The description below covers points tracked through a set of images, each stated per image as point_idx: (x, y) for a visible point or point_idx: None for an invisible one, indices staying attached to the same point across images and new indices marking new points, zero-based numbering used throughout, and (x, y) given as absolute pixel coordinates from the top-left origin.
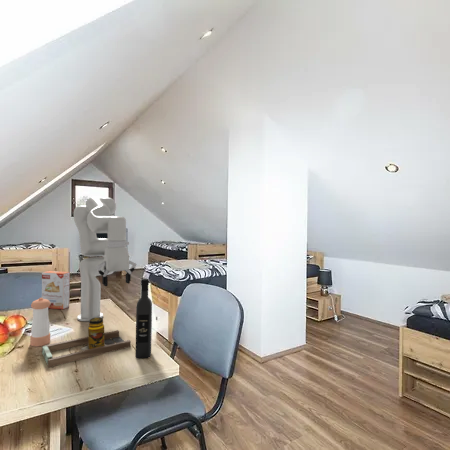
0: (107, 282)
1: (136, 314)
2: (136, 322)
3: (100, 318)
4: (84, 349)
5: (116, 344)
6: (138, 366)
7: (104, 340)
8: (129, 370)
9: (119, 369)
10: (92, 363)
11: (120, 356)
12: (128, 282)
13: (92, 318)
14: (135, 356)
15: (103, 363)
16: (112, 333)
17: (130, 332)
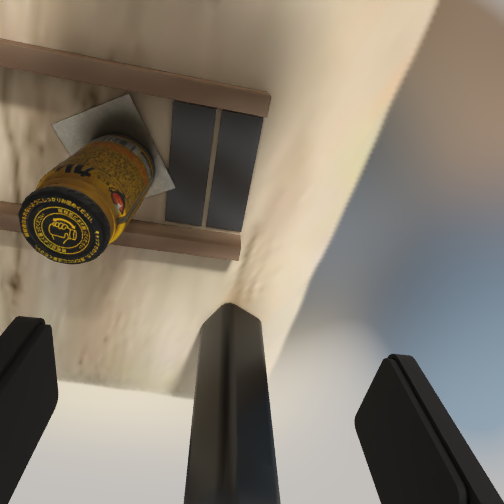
0: (35, 447)
1: (186, 478)
2: (190, 440)
3: (91, 233)
4: (67, 146)
5: (176, 252)
6: (183, 361)
7: (182, 109)
8: (152, 364)
9: (132, 346)
10: (71, 272)
11: (170, 286)
12: (360, 433)
13: (42, 198)
14: (202, 327)
15: (104, 293)
16: (229, 109)
17: (341, 98)
